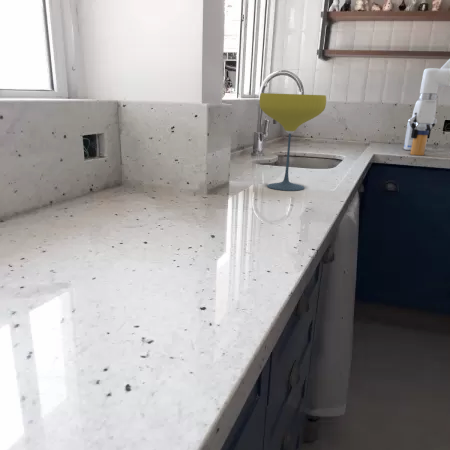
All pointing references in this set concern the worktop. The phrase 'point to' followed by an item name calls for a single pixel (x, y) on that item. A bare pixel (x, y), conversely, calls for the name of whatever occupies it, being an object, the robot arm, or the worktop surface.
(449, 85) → the robot arm
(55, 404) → the worktop surface
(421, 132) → the jar lid
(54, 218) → the worktop surface
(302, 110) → the cocktail glass
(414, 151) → the honey jar
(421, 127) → the supplement tub
